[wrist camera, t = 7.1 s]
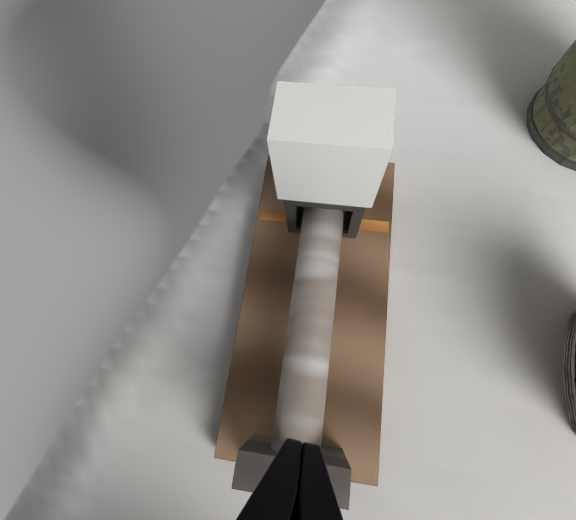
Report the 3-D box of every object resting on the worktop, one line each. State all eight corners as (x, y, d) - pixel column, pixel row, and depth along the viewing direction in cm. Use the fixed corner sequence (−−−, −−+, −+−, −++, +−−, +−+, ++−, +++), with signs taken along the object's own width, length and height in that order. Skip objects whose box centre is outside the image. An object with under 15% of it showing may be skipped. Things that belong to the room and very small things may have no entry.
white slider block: (360, 239, 23) (392, 149, 14) (283, 231, 23) (266, 139, 14) (363, 197, 23) (396, 88, 15) (289, 190, 24) (277, 81, 15)
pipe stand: (373, 478, 20) (397, 518, 14) (220, 452, 21) (186, 480, 15) (390, 174, 26) (412, 118, 20) (271, 164, 27) (260, 108, 21)
